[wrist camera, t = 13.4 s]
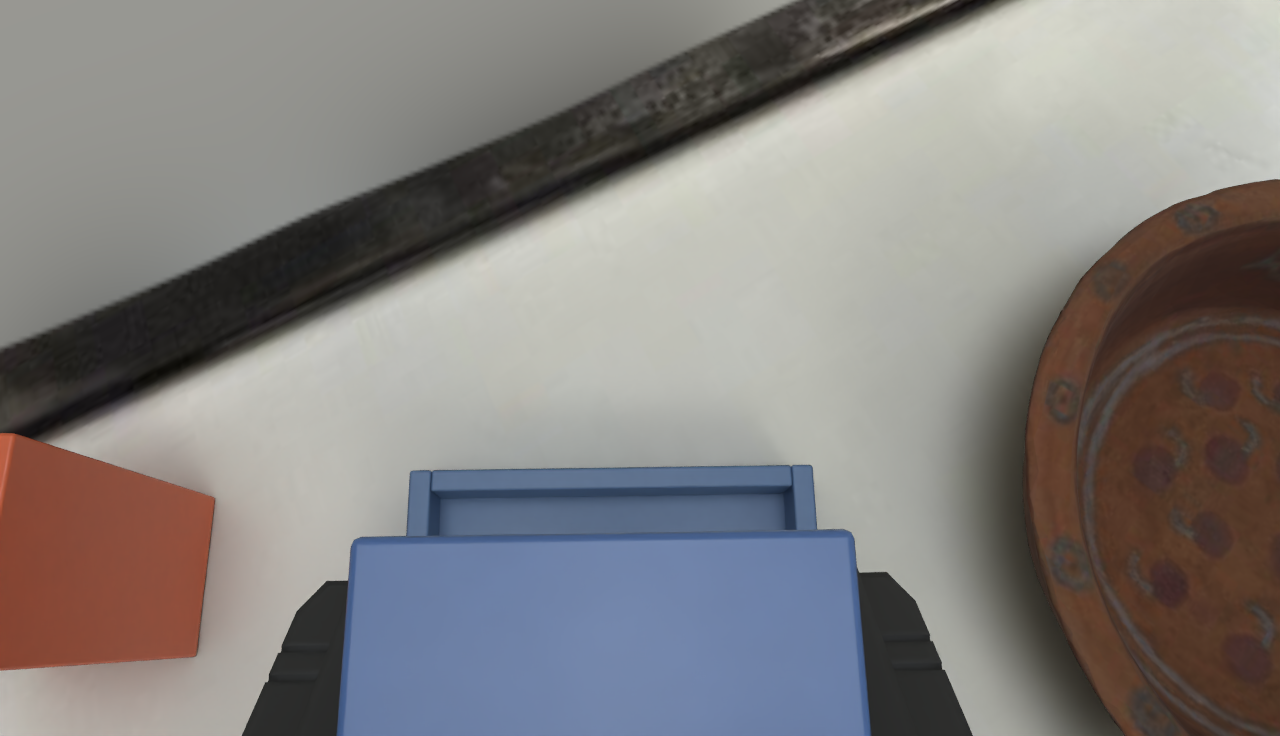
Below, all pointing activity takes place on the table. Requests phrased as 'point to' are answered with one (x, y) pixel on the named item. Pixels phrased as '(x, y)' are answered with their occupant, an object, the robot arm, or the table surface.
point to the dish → (1168, 469)
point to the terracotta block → (96, 560)
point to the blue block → (604, 635)
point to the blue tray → (611, 500)
